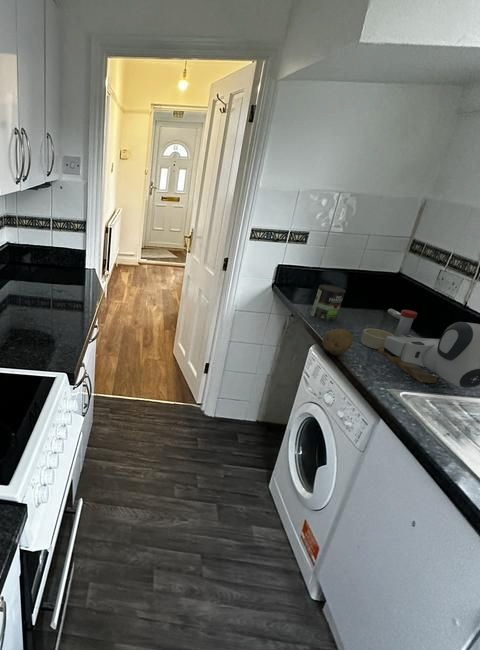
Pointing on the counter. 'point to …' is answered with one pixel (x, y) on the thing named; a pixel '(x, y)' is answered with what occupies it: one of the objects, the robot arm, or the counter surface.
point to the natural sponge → (337, 341)
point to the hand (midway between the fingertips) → (404, 336)
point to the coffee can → (327, 302)
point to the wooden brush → (410, 368)
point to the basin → (374, 338)
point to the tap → (402, 324)
